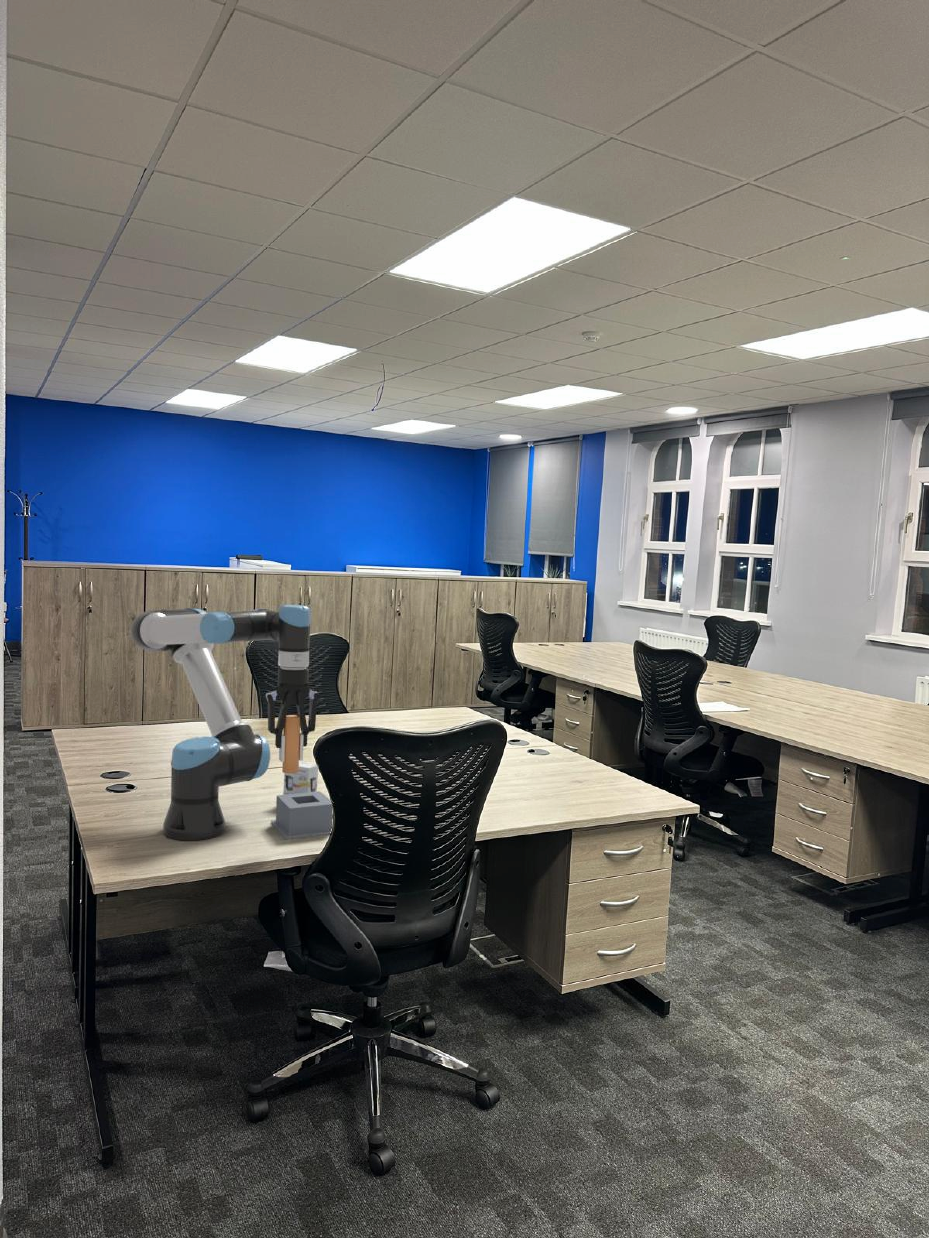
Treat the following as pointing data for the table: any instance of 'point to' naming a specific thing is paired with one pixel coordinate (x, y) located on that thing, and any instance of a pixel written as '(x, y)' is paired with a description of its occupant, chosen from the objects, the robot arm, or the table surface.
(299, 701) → the robot arm
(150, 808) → the table surface
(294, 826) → the socket block
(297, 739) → the dowel
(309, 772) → the ink box
